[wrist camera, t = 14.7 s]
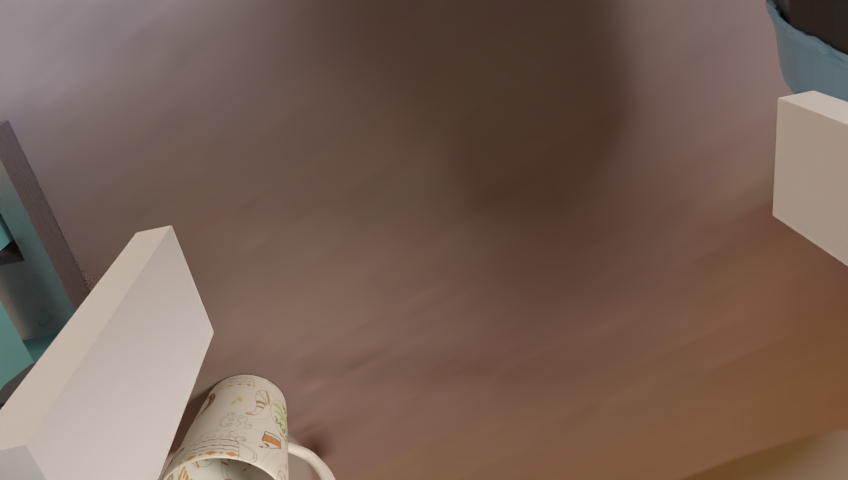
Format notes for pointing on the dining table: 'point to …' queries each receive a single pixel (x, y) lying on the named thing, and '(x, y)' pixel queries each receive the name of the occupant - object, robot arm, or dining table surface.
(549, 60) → the dining table surface
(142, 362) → the robot arm
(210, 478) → the mug
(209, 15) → the dining table surface
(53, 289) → the block
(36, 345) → the panel
